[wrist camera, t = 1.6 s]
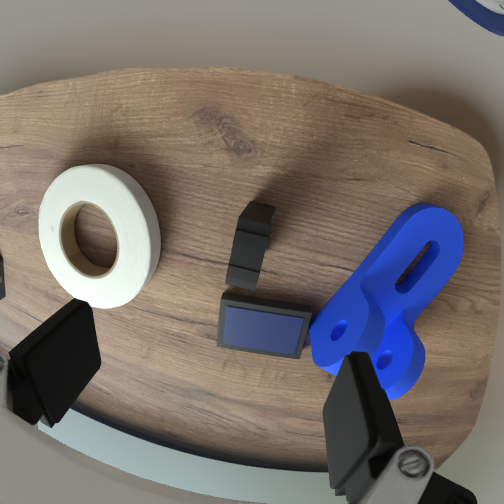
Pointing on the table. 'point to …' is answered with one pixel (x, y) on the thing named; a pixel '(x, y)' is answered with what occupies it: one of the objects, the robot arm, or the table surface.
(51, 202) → the tape roll
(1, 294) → the smart home device
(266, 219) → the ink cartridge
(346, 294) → the bracket
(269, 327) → the ink pad
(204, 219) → the table surface
